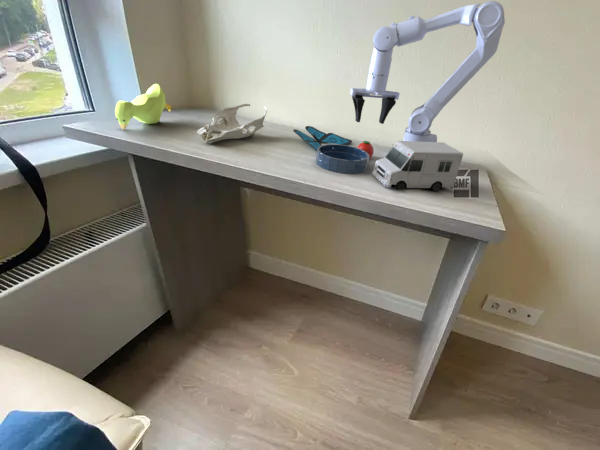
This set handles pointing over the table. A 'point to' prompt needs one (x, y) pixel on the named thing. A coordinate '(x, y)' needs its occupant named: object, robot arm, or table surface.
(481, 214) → the table surface
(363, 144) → the tomato
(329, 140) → the decorative butterfly
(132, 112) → the toy
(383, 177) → the toy truck
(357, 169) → the bowl
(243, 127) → the anatomical model
